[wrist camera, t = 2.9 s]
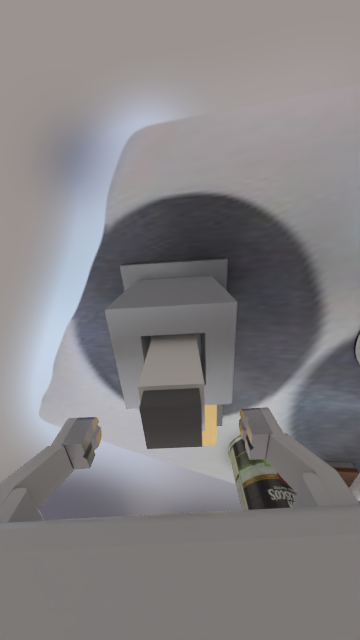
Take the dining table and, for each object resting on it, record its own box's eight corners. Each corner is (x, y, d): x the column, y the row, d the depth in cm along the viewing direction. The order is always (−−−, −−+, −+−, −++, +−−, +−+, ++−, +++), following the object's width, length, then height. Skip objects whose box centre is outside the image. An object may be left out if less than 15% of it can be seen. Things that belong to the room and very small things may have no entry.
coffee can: (243, 426, 39) (275, 519, 26) (285, 440, 40) (335, 535, 27) (218, 456, 42) (236, 552, 29) (258, 468, 44) (291, 564, 31)
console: (224, 258, 26) (267, 273, 13) (219, 416, 38) (241, 508, 25) (123, 264, 27) (71, 285, 14) (149, 419, 38) (133, 512, 25)
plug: (193, 321, 19) (207, 399, 10) (194, 354, 20) (207, 449, 11) (155, 323, 19) (132, 403, 10) (159, 356, 21) (142, 452, 11)
